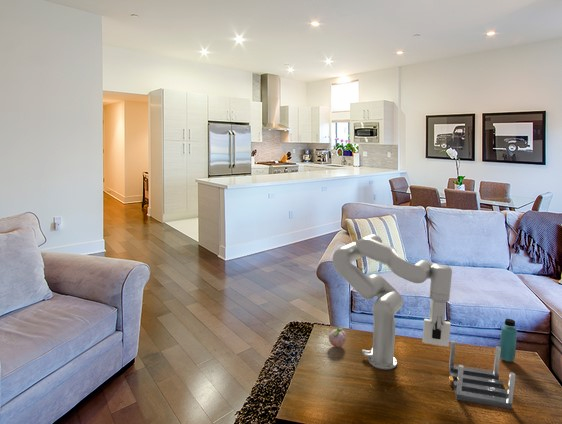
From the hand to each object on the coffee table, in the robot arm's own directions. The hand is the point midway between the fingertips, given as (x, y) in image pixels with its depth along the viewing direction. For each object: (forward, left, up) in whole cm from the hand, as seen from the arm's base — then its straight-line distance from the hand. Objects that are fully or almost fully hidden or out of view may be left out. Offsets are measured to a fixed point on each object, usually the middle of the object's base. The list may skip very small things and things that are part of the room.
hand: (435, 336), depth 154 cm
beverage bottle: (+34, +26, -20) cm, 47 cm away
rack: (+17, 0, -20) cm, 26 cm away
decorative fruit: (-43, +15, -20) cm, 49 cm away
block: (0, 0, -3) cm, 3 cm away
